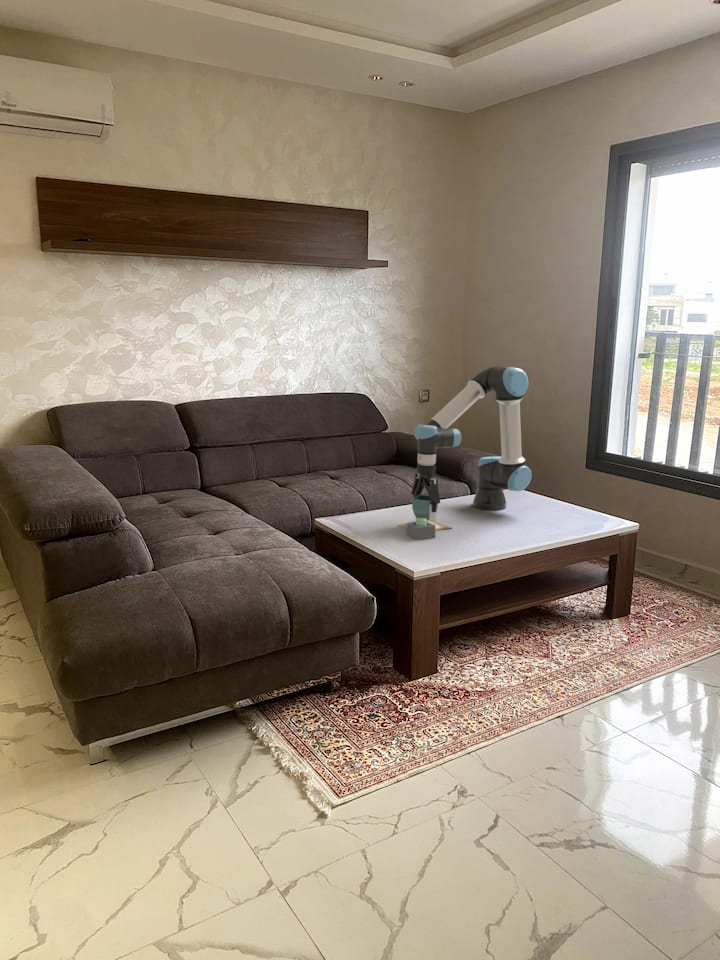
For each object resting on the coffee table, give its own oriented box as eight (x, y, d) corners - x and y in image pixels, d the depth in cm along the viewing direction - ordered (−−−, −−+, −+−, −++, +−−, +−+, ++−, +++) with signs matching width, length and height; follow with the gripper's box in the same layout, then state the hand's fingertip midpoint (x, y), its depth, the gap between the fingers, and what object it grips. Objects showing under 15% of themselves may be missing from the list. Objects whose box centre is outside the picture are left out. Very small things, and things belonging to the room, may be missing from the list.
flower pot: (410, 519, 307) (411, 498, 305) (419, 515, 315) (419, 494, 313) (430, 522, 303) (431, 501, 301) (438, 517, 311) (439, 496, 309)
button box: (424, 532, 302) (424, 520, 301) (434, 537, 295) (435, 525, 294) (407, 534, 299) (407, 522, 298) (417, 540, 292) (417, 527, 291)
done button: (423, 528, 299) (423, 517, 298) (428, 531, 296) (429, 519, 295) (413, 530, 298) (413, 518, 297) (419, 532, 294) (419, 521, 293)
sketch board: (434, 521, 319) (434, 519, 319) (451, 528, 308) (451, 527, 308) (397, 525, 311) (397, 524, 311) (413, 533, 300) (413, 532, 300)
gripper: (403, 459, 313) (402, 510, 317) (434, 469, 292) (432, 524, 297) (419, 458, 316) (417, 508, 321) (450, 468, 295) (448, 522, 300)
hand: (424, 516), depth 309 cm, fingers closed on flower pot, 11 cm apart
